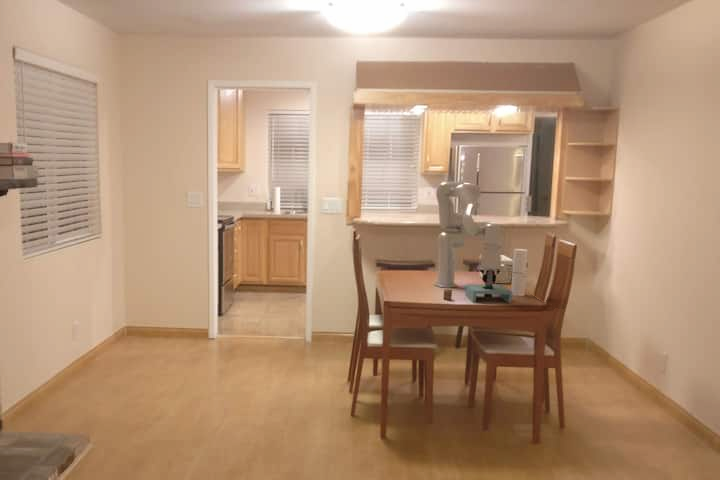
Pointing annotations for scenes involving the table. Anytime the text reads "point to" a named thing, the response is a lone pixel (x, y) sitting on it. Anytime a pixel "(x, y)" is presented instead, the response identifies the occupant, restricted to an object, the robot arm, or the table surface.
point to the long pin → (489, 281)
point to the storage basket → (506, 273)
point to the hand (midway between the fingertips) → (488, 281)
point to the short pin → (447, 294)
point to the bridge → (488, 292)
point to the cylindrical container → (519, 272)
